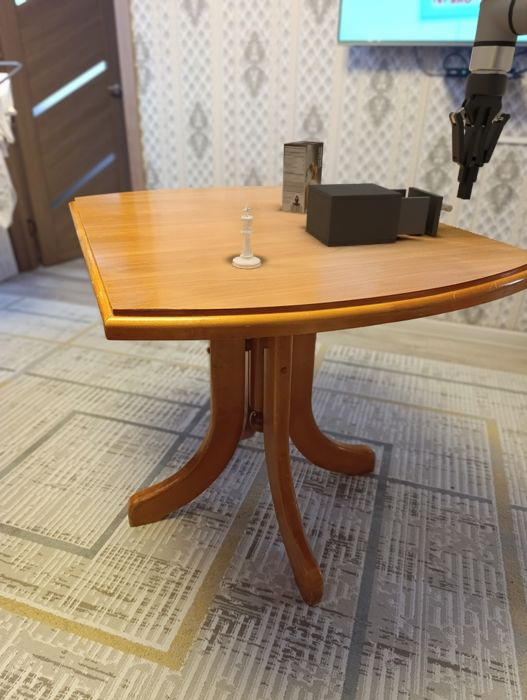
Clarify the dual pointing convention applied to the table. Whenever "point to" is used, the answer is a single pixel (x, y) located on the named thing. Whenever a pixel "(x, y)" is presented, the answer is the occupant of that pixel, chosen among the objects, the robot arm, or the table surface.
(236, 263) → the chess piece
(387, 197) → the cabinet
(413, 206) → the drawer
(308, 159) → the coffee box
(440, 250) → the table surface
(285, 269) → the table surface
